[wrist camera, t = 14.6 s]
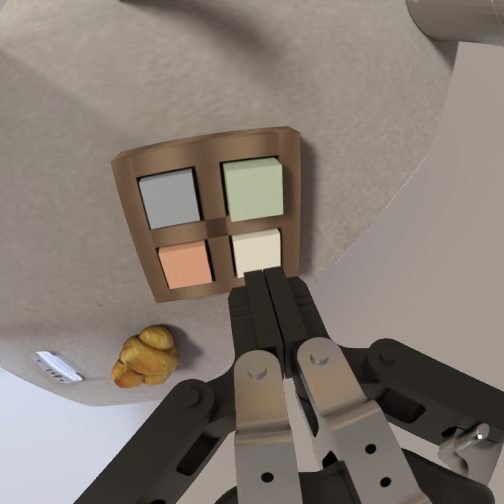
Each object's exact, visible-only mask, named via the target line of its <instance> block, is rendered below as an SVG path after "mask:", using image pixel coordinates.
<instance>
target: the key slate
mask: <svg viewBox="0 0 504 504" xmlns="http://www.w3.org/2000/svg"><path fill="white" fill-rule="evenodd" d="M139 184H140V189H141V193H142V197H143V200H144V204H145V208H146V212H147V216H148V219H149V223H150V226H151V229H155V228H160V227H165V226H171V225H177V224H182V223H188V222H194V221H200V211H199V203H198V197H197V191H196V185H195V179H194V173H193V167H192V166H191V167H185V168H180V169H174V170H169V171H164V172H159V173H154V174H149V175H145V176H143V177H142V178H141V180H140V182H139Z"/></svg>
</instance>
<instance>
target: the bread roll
mask: <svg viewBox="0 0 504 504" xmlns="http://www.w3.org/2000/svg"><path fill="white" fill-rule="evenodd" d="M178 356H179V355H178V352H177V350H176V348H175V346H174V340H173V337H172V335H171V333H170V332H169V331H168V330H167V329H166V328H165V327H162V326H150V327H147V328H145V329H144V330H143V331H142V332H141V333H140V334H139V335H136V336H132V337H130V338H129V339H128V340H127V341H126V342H125V343H124V345H123V349H122V351H121V353H120V355H119V359H118V360H117V362H116V364H115V366H114V368H113V370H112V378H113V380H114V382H115V383H116V385H117V386H119V387H120V388H131V387H135V386H139V385H140V384H142V383H145V384H148V385H156V384H163V382H165V381H166V380H167V379H168V377H169V376H170V374H171V372H172V371H173V370H175V369H176V367H177V365H178V364H179V363H180V362H179V358H178Z"/></svg>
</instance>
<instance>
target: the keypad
mask: <svg viewBox="0 0 504 504" xmlns="http://www.w3.org/2000/svg"><path fill="white" fill-rule="evenodd" d="M265 157H274V158H275V159H276V160H277V161H278V162H279V163H280V164H281V165H282V187H283V214H282V215H275V216H268V217H261V218H254V219H248V220H241V221H235V222H232V221H231V217H230V214H229V210H228V203H227V195H226V186H225V178H224V170H223V163H224V162H231V161H239V160H247V159H255V158H265ZM111 166H112V170H113V174H114V178H115V182H116V186H117V189H118V193H119V196H120V200H121V203H122V207H123V210H124V214H125V217H126V220H127V223H128V227H129V230H130V233H131V236H132V239H133V242H134V245H135V248H136V251H137V253H138V256H139V259H140V262H141V265H142V267H143V270H144V273H145V275H146V278H147V281H148V283H149V286H150V288H151V291H152V293H153V296H154V298H155V301H156V303H163V302H169V301H176V300H183V299H189V298H196V297H202V296H208V295H214V294H220V293H226V292H231V290H232V288H234V287H240V286H245V280H244V277H241V278H238V275H237V271H236V266H235V262H234V254H233V247H232V239H231V235H234V234H241V233H247V232H253V231H260V230H266V229H273V228H277V229H278V231H279V233H280V266H282V267H283V270H284V273H285V275H286V278H289V277H294V276H298V277H299V255H300V216H301V146H300V132H298V131H296V130H294V129H292V128H290V127H288V126H287V127H271V128H259V129H248V130H239V131H230V132H222V133H215V134H208V135H202V136H195V137H189V138H184V139H178V140H173V141H168V142H163V143H158V144H153V145H149V146H144V147H140V148H136V149H131V150H127V151H123V152H121V153H120V154H118V155H117V156H116V157H115V158H114V159H113V160H112V161H111ZM191 166H192V167H193V173H194V179H195V185H196V191H197V197H198V203H199V211H200V221H194V222H188V223H182V224H177V225H171V226H165V227H160V228H155V229H151V226H150V223H149V219H148V216H147V212H146V208H145V204H144V200H143V197H142V193H141V189H140V184H139V182H140V180H141V178H142V177H143V176H145V175H149V174H154V173H159V172H164V171H169V170H174V169H180V168H185V167H191ZM204 239H205V241H206V246H207V251H208V256H209V261H210V266H211V275H212V282H211V283H205V284H199V285H193V286H186V287H180V288H174V289H170V287H169V284H168V281H167V278H166V275H165V272H164V269H163V266H162V263H161V260H160V257H159V248H160V247H163V246H168V245H174V244H180V243H186V242H192V241H198V240H204Z"/></svg>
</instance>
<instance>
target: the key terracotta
mask: <svg viewBox="0 0 504 504" xmlns="http://www.w3.org/2000/svg"><path fill="white" fill-rule="evenodd" d="M159 257H160V260H161V263H162V266H163V269H164V272H165V275H166V278H167V281H168V284H169V287H170V289H174V288H180V287H186V286H193V285H199V284H205V283H211V282H212V275H211V266H210V261H209V256H208V251H207V246H206V241H205V239H204V240H198V241H192V242H186V243H180V244H174V245H168V246H163V247H160V248H159Z"/></svg>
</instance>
